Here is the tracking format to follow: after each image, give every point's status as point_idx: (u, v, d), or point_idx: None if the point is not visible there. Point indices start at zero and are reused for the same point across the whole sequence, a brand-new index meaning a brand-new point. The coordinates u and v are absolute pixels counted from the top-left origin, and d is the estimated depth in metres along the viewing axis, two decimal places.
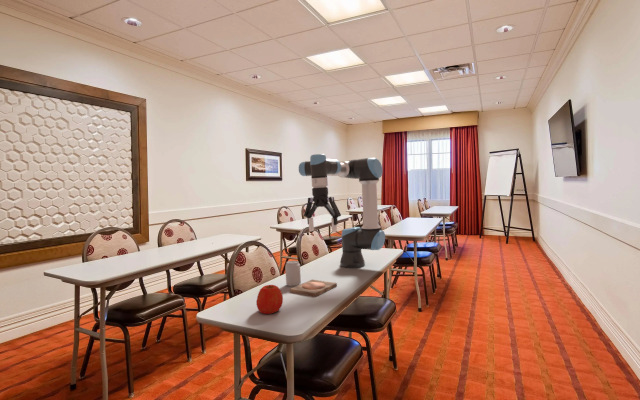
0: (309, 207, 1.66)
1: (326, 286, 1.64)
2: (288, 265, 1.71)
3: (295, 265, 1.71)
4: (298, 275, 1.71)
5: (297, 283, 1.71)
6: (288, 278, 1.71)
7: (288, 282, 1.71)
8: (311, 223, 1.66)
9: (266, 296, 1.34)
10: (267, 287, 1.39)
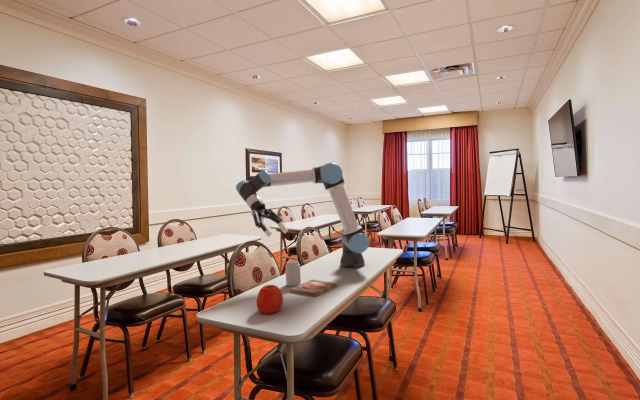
0: None
1: (326, 286, 1.64)
2: (288, 265, 1.71)
3: (295, 265, 1.71)
4: (298, 275, 1.71)
5: (297, 283, 1.71)
6: (288, 278, 1.71)
7: (288, 282, 1.71)
8: (281, 227, 1.84)
9: (266, 296, 1.34)
10: (267, 287, 1.39)
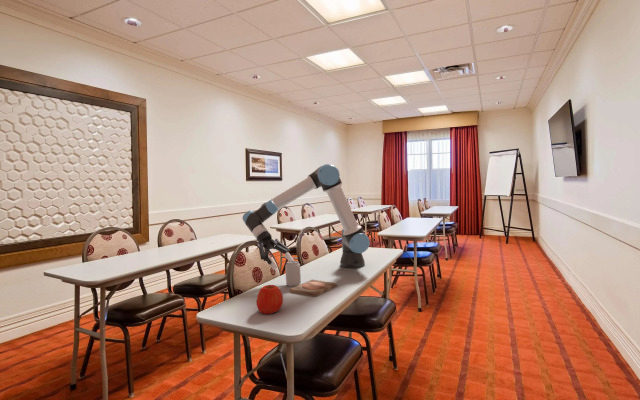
0: None
1: (326, 286, 1.64)
2: (288, 265, 1.71)
3: (295, 265, 1.71)
4: (298, 275, 1.71)
5: (297, 283, 1.71)
6: (288, 278, 1.71)
7: (288, 282, 1.71)
8: (288, 257, 1.83)
9: (266, 296, 1.34)
10: (267, 287, 1.39)
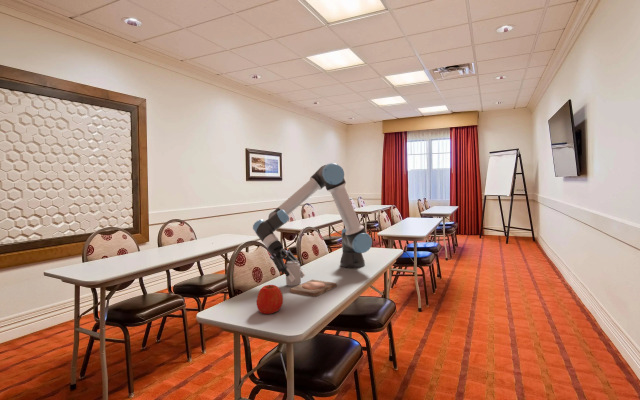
0: (291, 257, 1.81)
1: (326, 286, 1.64)
2: (288, 265, 1.71)
3: (295, 265, 1.71)
4: (298, 275, 1.71)
5: (297, 283, 1.71)
6: (288, 278, 1.71)
7: (288, 282, 1.71)
8: None
9: (266, 296, 1.34)
10: (267, 287, 1.39)
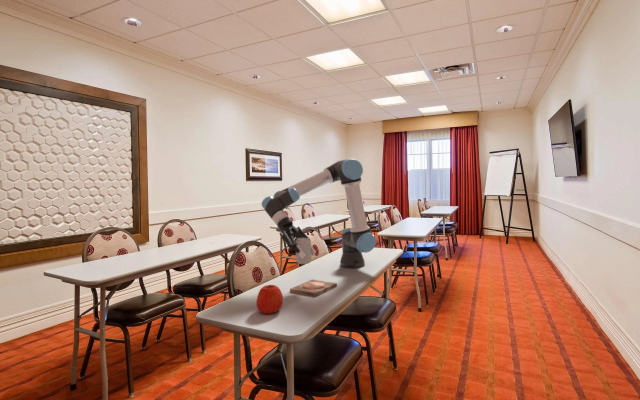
0: None
1: (326, 286, 1.64)
2: (298, 241, 1.65)
3: (306, 241, 1.64)
4: (308, 252, 1.65)
5: (308, 260, 1.65)
6: (298, 255, 1.65)
7: (298, 259, 1.65)
8: None
9: (266, 296, 1.34)
10: (267, 287, 1.39)
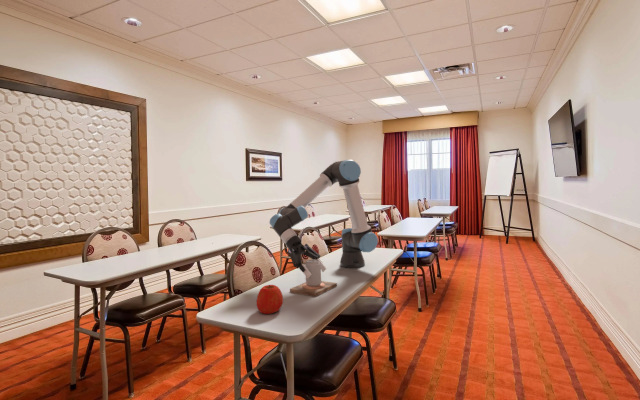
0: (310, 252, 1.74)
1: (326, 286, 1.64)
2: (308, 264, 1.62)
3: (316, 264, 1.62)
4: (318, 275, 1.63)
5: (318, 283, 1.63)
6: (308, 278, 1.62)
7: (308, 282, 1.63)
8: None
9: (266, 296, 1.34)
10: (267, 287, 1.39)
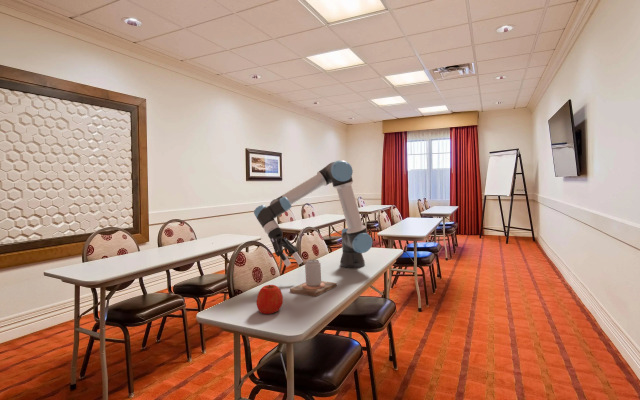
0: None
1: (326, 286, 1.64)
2: (308, 264, 1.62)
3: (316, 264, 1.62)
4: (318, 275, 1.63)
5: (318, 283, 1.63)
6: (308, 278, 1.62)
7: (308, 282, 1.63)
8: (296, 257, 1.81)
9: (266, 296, 1.34)
10: (267, 287, 1.39)
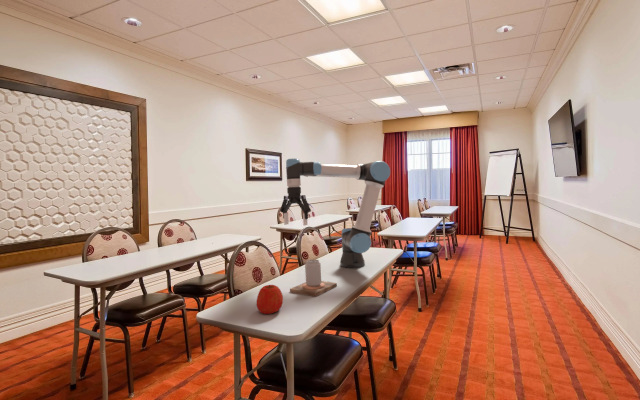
0: (285, 204, 1.94)
1: (326, 286, 1.64)
2: (308, 264, 1.62)
3: (316, 264, 1.62)
4: (318, 275, 1.63)
5: (318, 283, 1.63)
6: (308, 278, 1.62)
7: (308, 282, 1.63)
8: (286, 217, 1.94)
9: (266, 296, 1.34)
10: (267, 287, 1.39)
